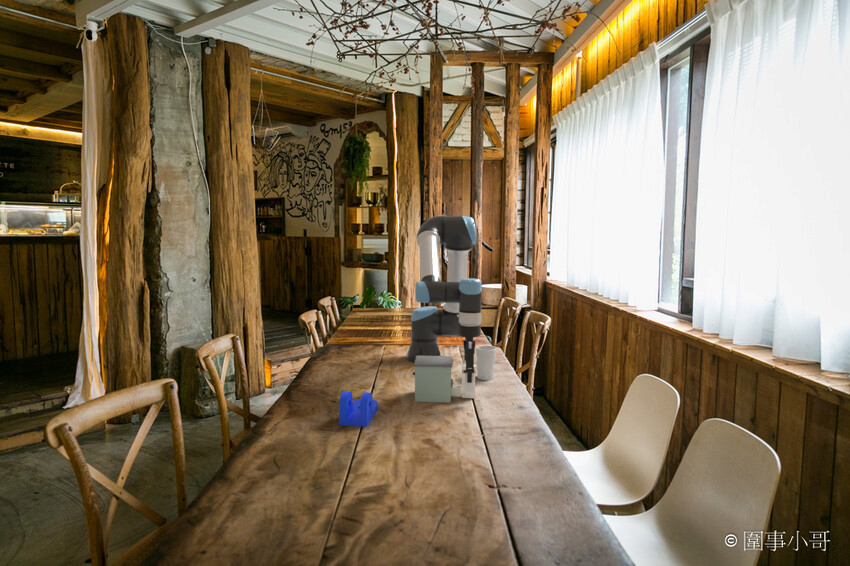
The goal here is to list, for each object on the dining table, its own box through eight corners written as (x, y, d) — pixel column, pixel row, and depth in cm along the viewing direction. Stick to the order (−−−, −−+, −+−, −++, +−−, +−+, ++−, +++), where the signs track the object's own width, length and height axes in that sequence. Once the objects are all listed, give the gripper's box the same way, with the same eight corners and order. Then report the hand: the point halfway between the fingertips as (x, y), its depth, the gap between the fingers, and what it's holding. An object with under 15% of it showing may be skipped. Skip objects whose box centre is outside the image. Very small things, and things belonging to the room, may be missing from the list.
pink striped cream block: (474, 395, 166) (475, 364, 165) (474, 398, 163) (475, 366, 162) (434, 394, 167) (435, 363, 165) (434, 397, 163) (435, 365, 162)
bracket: (367, 427, 138) (367, 397, 138) (339, 425, 139) (339, 395, 139) (380, 405, 156) (380, 378, 155) (355, 404, 157) (355, 377, 156)
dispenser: (452, 391, 170) (453, 356, 169) (452, 402, 159) (453, 365, 158) (416, 390, 171) (416, 355, 170) (413, 401, 160) (414, 364, 158)
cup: (495, 375, 191) (495, 345, 190) (496, 381, 184) (497, 350, 182) (475, 374, 192) (475, 345, 191) (475, 380, 184) (475, 349, 183)
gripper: (458, 318, 175) (457, 374, 176) (459, 331, 150) (457, 397, 152) (478, 318, 174) (477, 375, 176) (483, 331, 149) (481, 397, 151)
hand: (468, 385), depth 164 cm, fingers open, 13 cm apart
